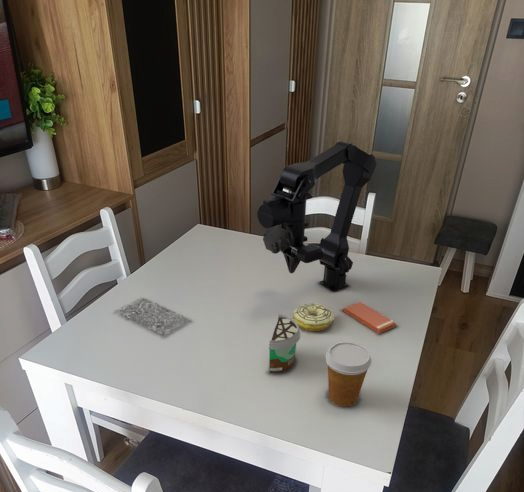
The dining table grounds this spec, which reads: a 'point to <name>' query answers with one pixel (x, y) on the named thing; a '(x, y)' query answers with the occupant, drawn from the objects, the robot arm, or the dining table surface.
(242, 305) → the dining table surface
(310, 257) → the robot arm
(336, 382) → the disposable coffee cup
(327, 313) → the decorated donut
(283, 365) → the food container
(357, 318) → the orange flat bar
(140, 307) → the rug
